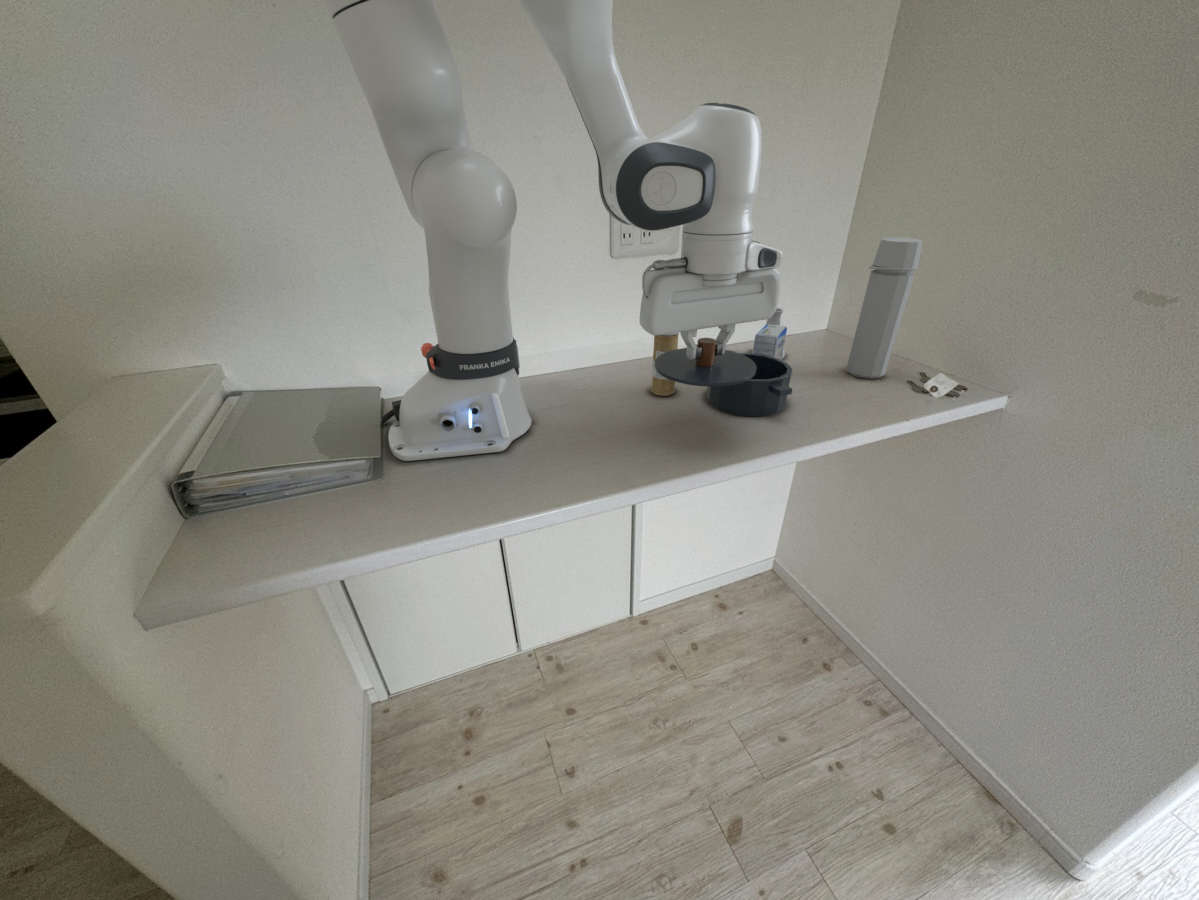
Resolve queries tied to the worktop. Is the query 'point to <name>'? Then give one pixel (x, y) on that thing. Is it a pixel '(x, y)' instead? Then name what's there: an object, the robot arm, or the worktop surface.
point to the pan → (755, 389)
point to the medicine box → (770, 341)
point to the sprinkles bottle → (660, 346)
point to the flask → (776, 321)
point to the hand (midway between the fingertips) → (705, 356)
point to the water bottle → (883, 306)
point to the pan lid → (705, 366)
